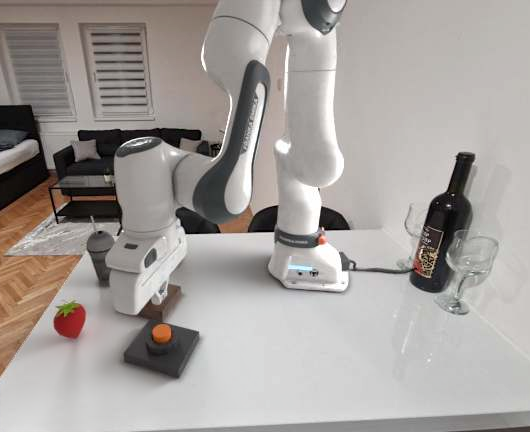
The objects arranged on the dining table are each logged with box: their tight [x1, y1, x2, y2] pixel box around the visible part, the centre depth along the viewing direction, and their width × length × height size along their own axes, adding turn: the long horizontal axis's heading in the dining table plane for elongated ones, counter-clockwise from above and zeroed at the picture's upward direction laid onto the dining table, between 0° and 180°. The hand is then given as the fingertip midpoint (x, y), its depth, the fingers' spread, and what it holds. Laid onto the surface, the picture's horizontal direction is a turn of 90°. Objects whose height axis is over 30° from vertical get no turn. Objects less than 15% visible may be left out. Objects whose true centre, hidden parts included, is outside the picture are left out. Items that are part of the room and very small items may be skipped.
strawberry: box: [52, 299, 87, 340], centre depth 64 cm, size 6×8×10 cm
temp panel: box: [136, 283, 182, 322], centre depth 75 cm, size 12×10×3 cm
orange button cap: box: [152, 324, 171, 344], centre depth 61 cm, size 4×4×2 cm
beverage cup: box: [85, 215, 116, 288], centre depth 80 cm, size 7×7×20 cm
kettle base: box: [123, 319, 201, 379], centre depth 62 cm, size 12×10×4 cm
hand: (159, 299), depth 58 cm, fingers closed
